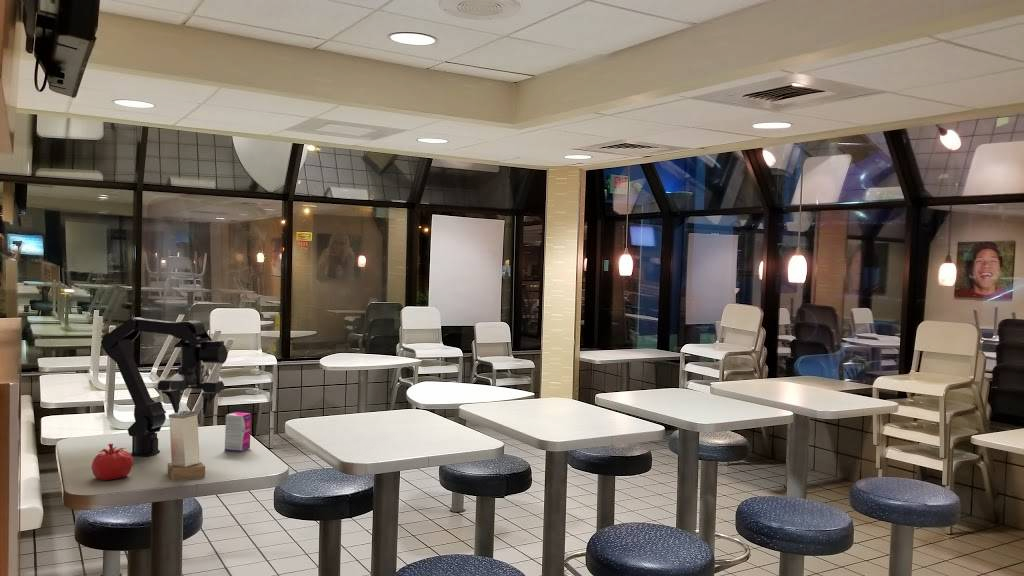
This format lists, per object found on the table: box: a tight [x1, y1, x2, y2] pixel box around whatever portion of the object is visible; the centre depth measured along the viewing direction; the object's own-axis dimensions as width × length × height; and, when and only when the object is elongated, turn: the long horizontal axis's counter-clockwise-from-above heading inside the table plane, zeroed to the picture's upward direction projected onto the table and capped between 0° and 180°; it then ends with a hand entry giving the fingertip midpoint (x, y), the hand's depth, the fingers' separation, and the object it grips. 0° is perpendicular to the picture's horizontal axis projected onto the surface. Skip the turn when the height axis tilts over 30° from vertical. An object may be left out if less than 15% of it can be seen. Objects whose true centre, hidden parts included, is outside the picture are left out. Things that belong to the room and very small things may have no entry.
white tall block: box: [168, 410, 201, 467], centre depth 213 cm, size 5×5×14 cm
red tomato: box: [91, 443, 134, 481], centre depth 210 cm, size 10×10×9 cm
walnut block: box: [166, 461, 206, 482], centre depth 214 cm, size 8×8×4 cm
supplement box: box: [224, 411, 252, 453], centre depth 245 cm, size 6×6×12 cm
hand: (190, 413), depth 235 cm, fingers open, 9 cm apart
